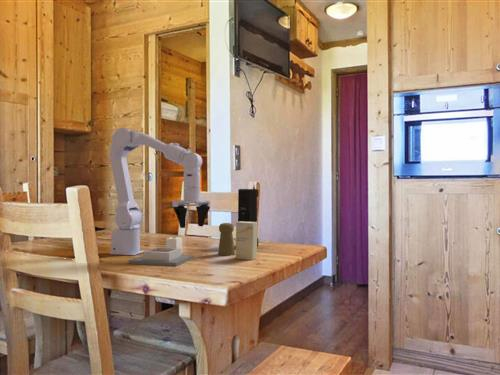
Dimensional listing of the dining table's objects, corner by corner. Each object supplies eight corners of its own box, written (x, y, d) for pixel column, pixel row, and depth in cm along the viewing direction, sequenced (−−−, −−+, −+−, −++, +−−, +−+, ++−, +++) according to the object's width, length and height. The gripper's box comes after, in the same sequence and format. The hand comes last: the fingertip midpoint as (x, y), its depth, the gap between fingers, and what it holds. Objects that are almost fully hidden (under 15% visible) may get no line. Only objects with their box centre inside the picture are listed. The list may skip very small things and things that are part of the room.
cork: (232, 256, 147) (232, 224, 147) (215, 255, 148) (215, 223, 148) (236, 253, 153) (236, 222, 153) (220, 252, 154) (220, 222, 154)
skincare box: (235, 258, 142) (235, 222, 142) (240, 256, 146) (240, 221, 146) (252, 260, 139) (252, 222, 139) (257, 258, 143) (257, 221, 143)
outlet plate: (128, 263, 134) (128, 252, 134) (150, 256, 147) (150, 245, 147) (176, 266, 130) (176, 254, 130) (194, 258, 143) (194, 247, 143)
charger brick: (166, 254, 152) (165, 238, 152) (172, 251, 157) (172, 236, 157) (176, 254, 151) (176, 238, 151) (182, 252, 156) (182, 236, 156)
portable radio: (234, 246, 169) (234, 182, 169) (245, 244, 173) (245, 182, 173) (247, 248, 164) (247, 182, 163) (259, 246, 168) (258, 182, 167)
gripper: (180, 187, 140) (180, 229, 140) (215, 187, 150) (215, 226, 150) (169, 187, 145) (168, 227, 146) (203, 187, 155) (203, 224, 156)
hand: (191, 227), depth 148 cm, fingers open, 7 cm apart
